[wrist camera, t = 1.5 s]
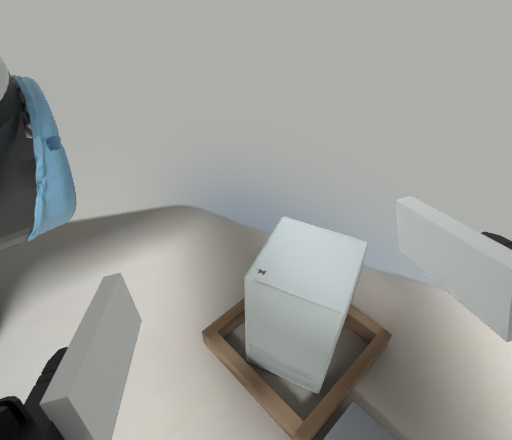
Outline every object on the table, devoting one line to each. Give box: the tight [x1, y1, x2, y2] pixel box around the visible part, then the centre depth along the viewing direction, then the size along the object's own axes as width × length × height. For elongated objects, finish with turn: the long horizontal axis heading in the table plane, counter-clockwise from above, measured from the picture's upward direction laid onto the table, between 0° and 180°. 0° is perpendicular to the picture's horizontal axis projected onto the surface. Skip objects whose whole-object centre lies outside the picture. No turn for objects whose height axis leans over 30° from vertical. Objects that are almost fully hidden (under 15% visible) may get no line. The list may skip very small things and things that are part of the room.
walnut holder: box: [202, 298, 392, 440], centre depth 32 cm, size 12×12×2 cm
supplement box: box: [244, 216, 368, 394], centre depth 29 cm, size 7×7×13 cm
